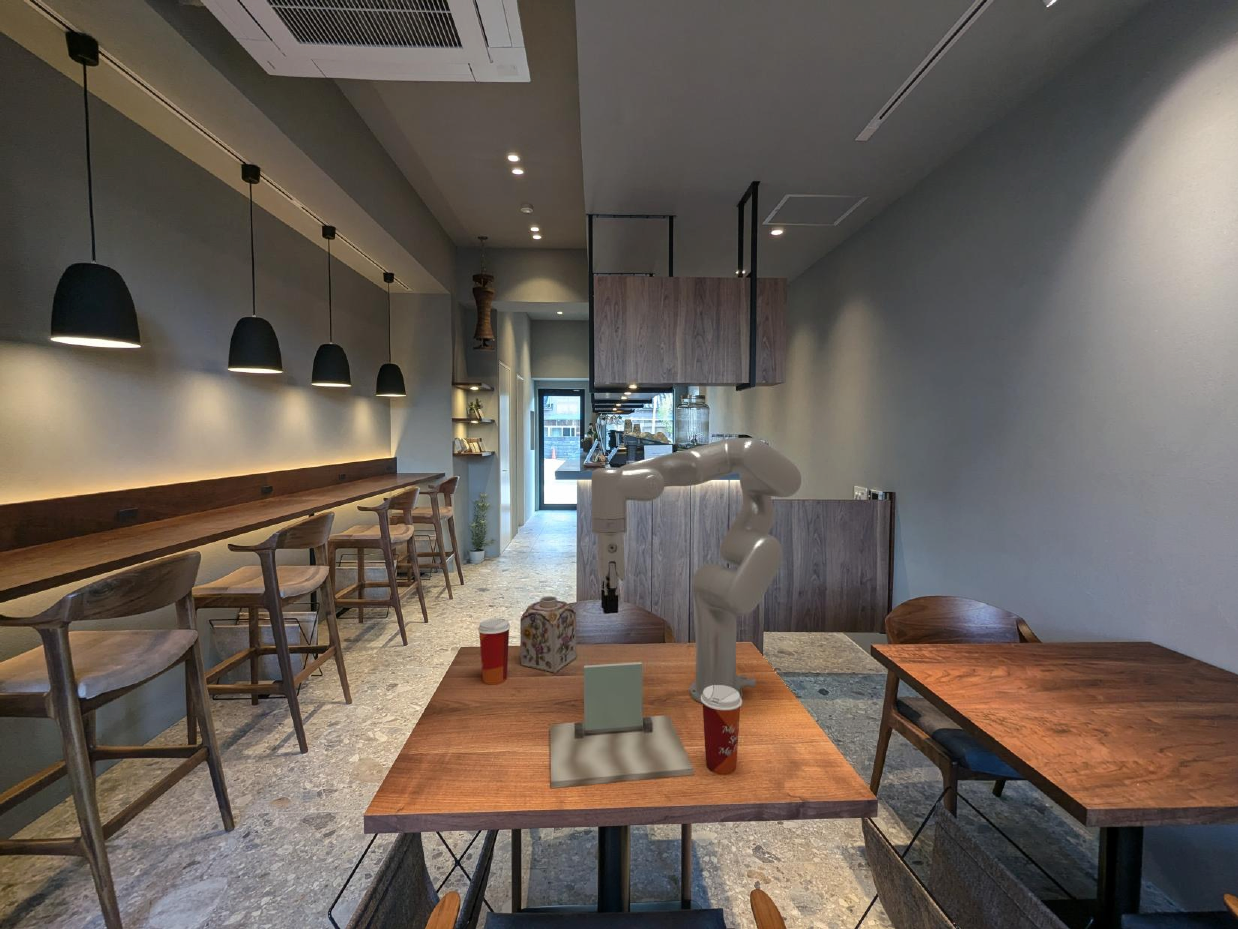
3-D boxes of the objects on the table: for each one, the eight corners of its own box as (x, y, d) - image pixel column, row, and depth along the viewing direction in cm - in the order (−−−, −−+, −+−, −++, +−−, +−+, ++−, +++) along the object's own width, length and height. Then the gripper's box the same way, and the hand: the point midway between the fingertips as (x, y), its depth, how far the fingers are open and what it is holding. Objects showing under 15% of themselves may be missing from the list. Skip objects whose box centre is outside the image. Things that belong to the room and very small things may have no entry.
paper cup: (733, 783, 93) (733, 707, 93) (693, 769, 97) (694, 696, 97) (747, 761, 100) (748, 689, 99) (709, 748, 104) (710, 679, 103)
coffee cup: (496, 670, 141) (495, 615, 140) (517, 677, 136) (517, 621, 135) (471, 681, 134) (470, 624, 133) (492, 690, 129) (491, 630, 128)
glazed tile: (641, 727, 109) (641, 661, 109) (642, 730, 108) (642, 664, 107) (584, 732, 108) (583, 665, 107) (584, 735, 106) (584, 668, 106)
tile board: (669, 720, 115) (669, 706, 114) (693, 774, 96) (693, 757, 96) (550, 730, 111) (549, 715, 111) (550, 788, 92) (550, 770, 92)
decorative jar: (543, 650, 154) (543, 590, 153) (577, 657, 148) (577, 595, 148) (519, 666, 143) (518, 601, 142) (554, 674, 138) (554, 607, 137)
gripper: (632, 531, 104) (633, 622, 105) (621, 519, 120) (621, 598, 121) (595, 532, 103) (596, 624, 104) (588, 520, 119) (589, 600, 120)
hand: (609, 609), depth 112 cm, fingers open, 2 cm apart
